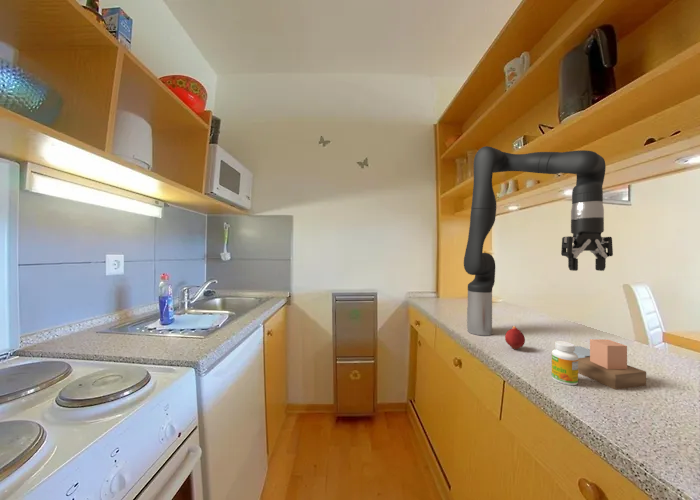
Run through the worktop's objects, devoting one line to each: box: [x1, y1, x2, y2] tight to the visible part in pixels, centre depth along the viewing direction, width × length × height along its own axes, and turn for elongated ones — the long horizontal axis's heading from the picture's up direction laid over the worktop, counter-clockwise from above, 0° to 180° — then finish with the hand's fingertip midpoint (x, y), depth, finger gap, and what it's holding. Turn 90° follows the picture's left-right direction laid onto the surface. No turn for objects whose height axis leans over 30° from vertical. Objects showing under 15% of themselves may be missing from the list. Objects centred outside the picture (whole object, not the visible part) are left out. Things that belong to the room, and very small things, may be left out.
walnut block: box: [578, 357, 647, 390], centre depth 70 cm, size 10×10×4 cm
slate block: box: [573, 345, 590, 358], centre depth 80 cm, size 7×7×4 cm
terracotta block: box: [589, 338, 628, 369], centre depth 70 cm, size 5×5×6 cm
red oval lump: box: [504, 325, 526, 350], centre depth 91 cm, size 6×6×8 cm
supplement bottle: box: [551, 340, 579, 386], centre depth 69 cm, size 5×5×10 cm
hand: (586, 270), depth 81 cm, fingers open, 8 cm apart
